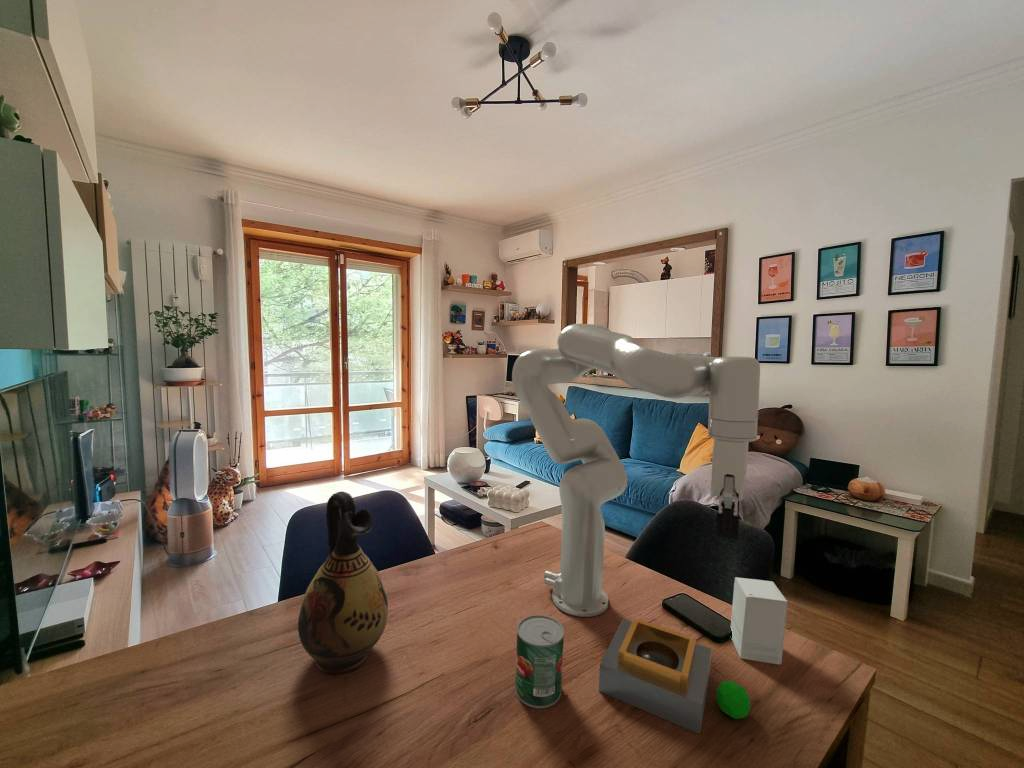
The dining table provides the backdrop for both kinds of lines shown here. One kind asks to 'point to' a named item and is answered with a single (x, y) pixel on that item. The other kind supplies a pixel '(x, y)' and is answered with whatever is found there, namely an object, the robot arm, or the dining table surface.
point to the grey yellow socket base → (657, 672)
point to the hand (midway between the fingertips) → (727, 526)
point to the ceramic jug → (343, 595)
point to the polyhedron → (733, 699)
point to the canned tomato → (539, 661)
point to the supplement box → (758, 620)
